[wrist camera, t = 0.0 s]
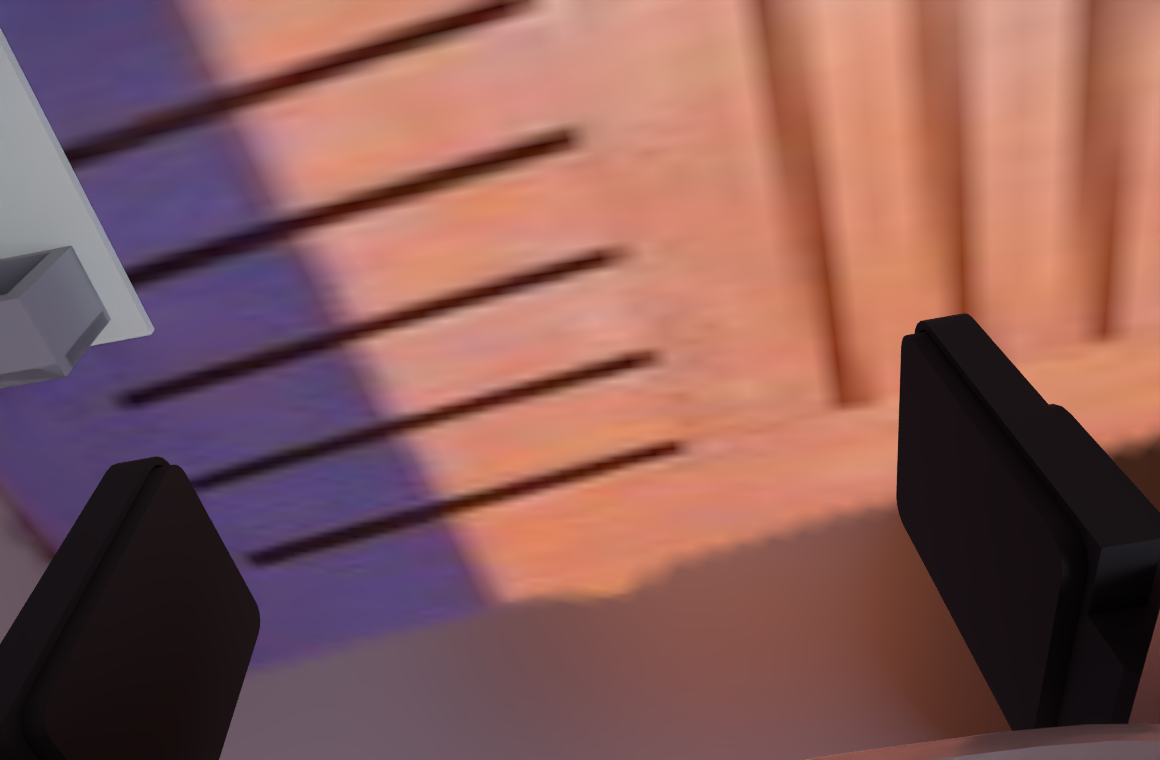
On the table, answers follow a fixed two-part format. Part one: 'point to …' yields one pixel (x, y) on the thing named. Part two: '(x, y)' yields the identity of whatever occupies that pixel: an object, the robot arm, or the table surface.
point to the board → (54, 203)
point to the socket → (46, 316)
